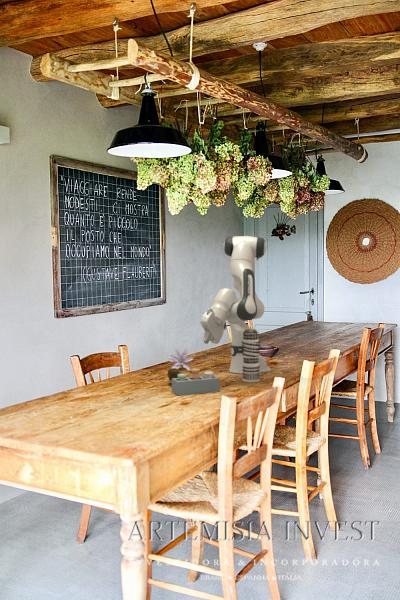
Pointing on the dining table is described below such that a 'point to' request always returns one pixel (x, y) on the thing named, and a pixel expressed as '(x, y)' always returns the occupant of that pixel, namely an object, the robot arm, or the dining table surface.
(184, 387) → the grey slotted holder
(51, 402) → the dining table surface
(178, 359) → the water lily
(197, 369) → the terracotta button
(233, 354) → the robot arm
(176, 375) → the potato
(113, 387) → the dining table surface
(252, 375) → the decorative candle
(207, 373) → the cream button
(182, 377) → the sage button
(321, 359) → the dining table surface
